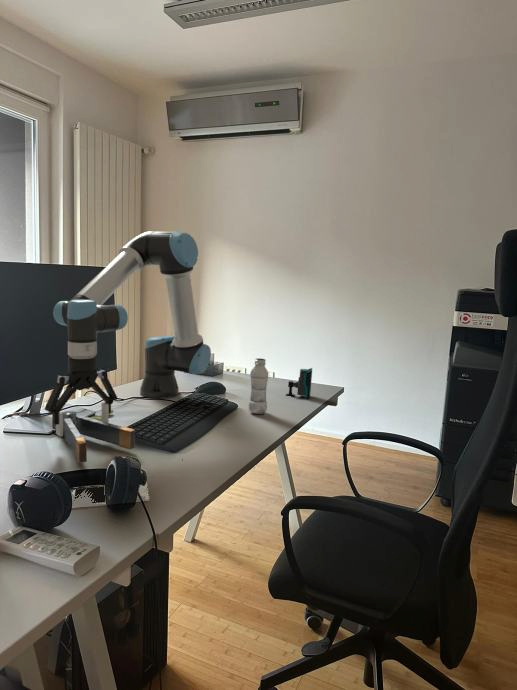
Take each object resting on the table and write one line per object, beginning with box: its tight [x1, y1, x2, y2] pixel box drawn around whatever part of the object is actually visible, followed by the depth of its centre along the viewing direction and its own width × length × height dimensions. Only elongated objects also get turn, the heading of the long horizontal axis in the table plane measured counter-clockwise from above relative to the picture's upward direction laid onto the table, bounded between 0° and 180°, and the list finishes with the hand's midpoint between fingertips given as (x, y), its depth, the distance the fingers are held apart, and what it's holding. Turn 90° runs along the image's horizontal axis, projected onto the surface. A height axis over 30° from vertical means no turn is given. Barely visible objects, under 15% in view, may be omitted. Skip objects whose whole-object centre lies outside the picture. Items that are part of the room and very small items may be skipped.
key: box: [89, 409, 115, 421], centre depth 157 cm, size 7×12×2 cm, turn 2°
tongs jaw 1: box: [64, 418, 88, 464], centre depth 129 cm, size 21×2×5 cm, turn 32°
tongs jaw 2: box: [76, 415, 136, 450], centre depth 135 cm, size 21×2×5 cm, turn 62°
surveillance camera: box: [285, 367, 313, 399], centre depth 196 cm, size 6×12×10 cm
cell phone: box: [72, 482, 150, 504], centre depth 107 cm, size 9×18×1 cm, turn 107°
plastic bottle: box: [248, 357, 270, 415], centre depth 171 cm, size 6×7×20 cm
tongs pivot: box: [51, 410, 78, 440], centre depth 143 cm, size 10×4×7 cm, turn 47°
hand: (83, 429), depth 135 cm, fingers open, 13 cm apart
